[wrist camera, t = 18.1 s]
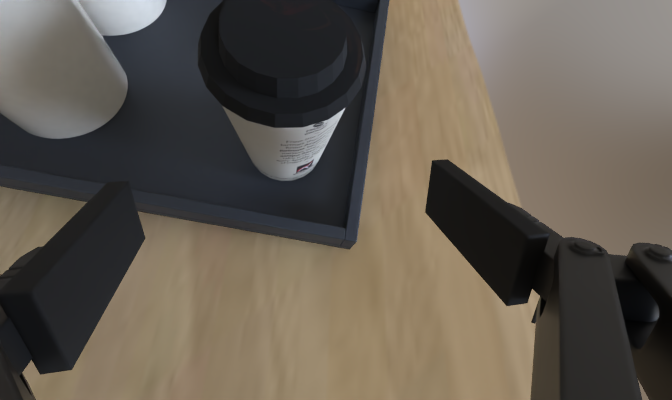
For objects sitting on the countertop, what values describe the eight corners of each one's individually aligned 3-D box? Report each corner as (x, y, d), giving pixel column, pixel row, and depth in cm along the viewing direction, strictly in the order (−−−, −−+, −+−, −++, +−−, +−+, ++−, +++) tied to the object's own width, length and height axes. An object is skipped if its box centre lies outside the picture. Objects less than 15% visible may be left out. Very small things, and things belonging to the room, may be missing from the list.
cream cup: (-19, 126, 20) (-285, -41, 11) (34, 34, 23) (-146, -168, 13) (104, 149, 21) (-48, 10, 11) (143, 57, 23) (44, -121, 14)
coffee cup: (335, 204, 22) (372, 117, 12) (221, 193, 21) (167, 91, 11) (341, 108, 24) (376, -26, 15) (238, 96, 23) (205, -55, 14)
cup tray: (-70, 173, 20) (-112, 156, 18) (70, -58, 26) (52, -90, 24) (350, 249, 21) (356, 242, 19) (383, 15, 28) (390, -9, 26)
